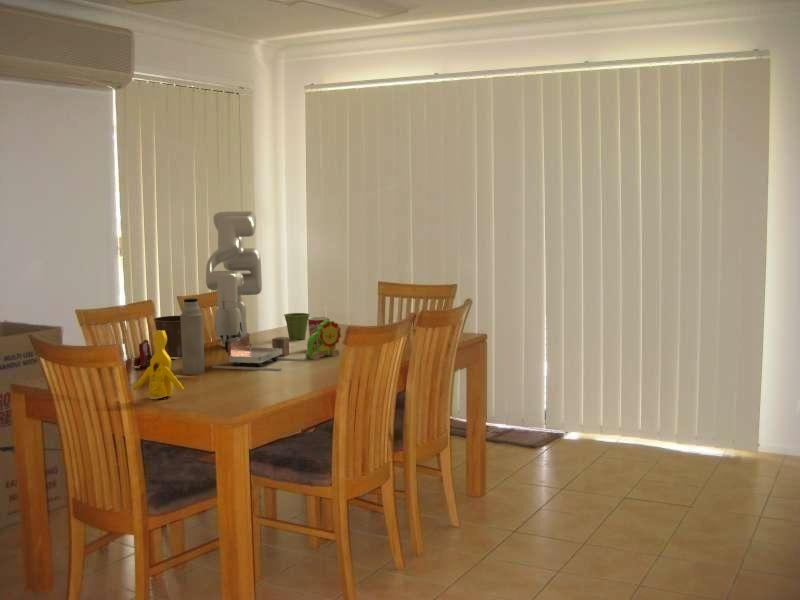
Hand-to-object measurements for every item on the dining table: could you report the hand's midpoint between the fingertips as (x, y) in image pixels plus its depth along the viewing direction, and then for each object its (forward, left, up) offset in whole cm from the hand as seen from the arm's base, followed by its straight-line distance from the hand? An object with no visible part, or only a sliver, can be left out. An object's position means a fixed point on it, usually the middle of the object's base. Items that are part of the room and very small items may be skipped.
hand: (229, 352), depth 360 cm
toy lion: (+31, +21, -5) cm, 38 cm away
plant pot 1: (-30, +11, -5) cm, 33 cm away
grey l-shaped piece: (+11, 0, -4) cm, 12 cm away
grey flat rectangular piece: (+12, 0, -5) cm, 13 cm away
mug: (+21, +41, -5) cm, 46 cm away
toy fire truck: (-30, -11, -5) cm, 32 cm away
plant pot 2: (+1, +64, -5) cm, 64 cm away
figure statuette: (+4, -57, -5) cm, 57 cm away
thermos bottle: (-5, -19, -5) cm, 20 cm away
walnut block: (+13, +19, -5) cm, 24 cm away
